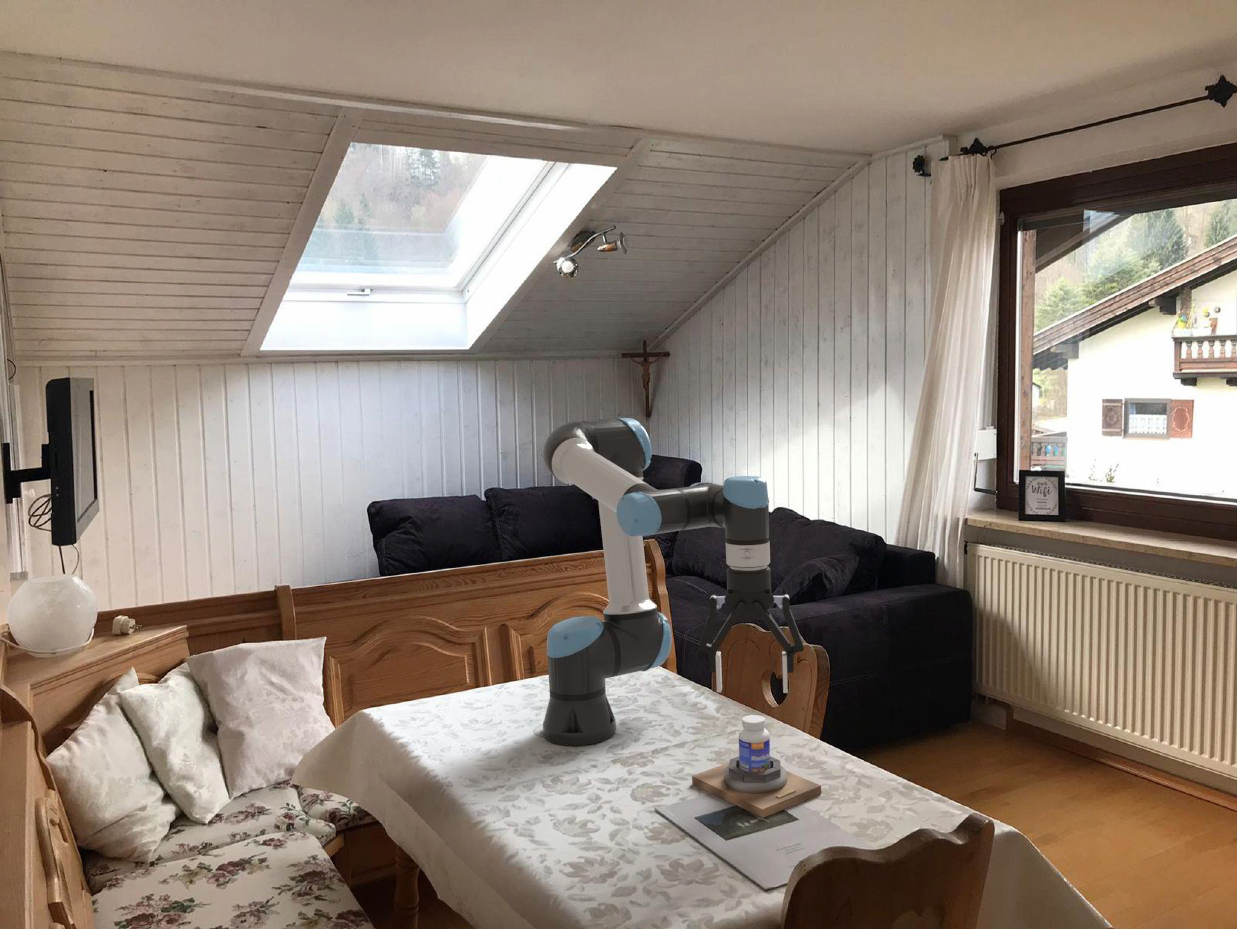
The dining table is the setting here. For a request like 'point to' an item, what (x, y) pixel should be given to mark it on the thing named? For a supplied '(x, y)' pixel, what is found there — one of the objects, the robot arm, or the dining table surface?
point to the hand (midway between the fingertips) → (752, 690)
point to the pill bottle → (754, 745)
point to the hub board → (757, 799)
